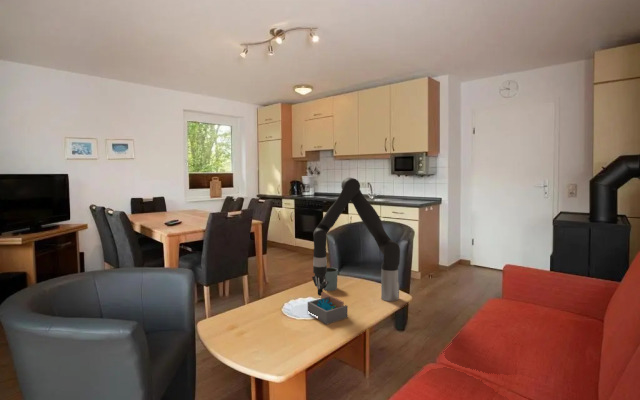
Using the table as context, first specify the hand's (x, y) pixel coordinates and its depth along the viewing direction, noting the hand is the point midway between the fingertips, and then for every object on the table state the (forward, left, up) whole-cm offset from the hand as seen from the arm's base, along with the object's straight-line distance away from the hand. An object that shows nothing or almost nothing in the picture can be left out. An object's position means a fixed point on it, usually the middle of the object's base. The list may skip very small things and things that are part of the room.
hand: (320, 295), depth 193 cm
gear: (+8, +16, -4) cm, 18 cm away
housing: (+7, +17, -4) cm, 19 cm away
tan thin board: (0, +11, -4) cm, 12 cm away
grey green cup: (-18, -15, -4) cm, 24 cm away
